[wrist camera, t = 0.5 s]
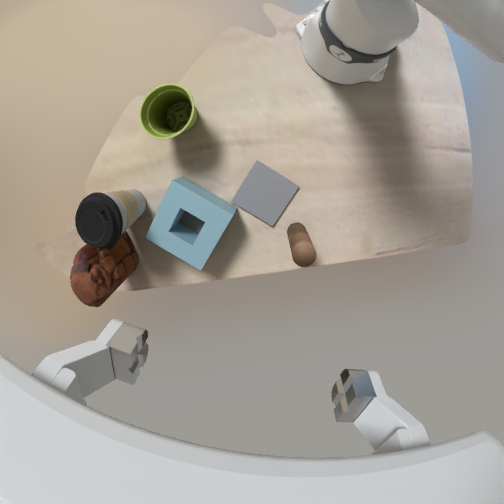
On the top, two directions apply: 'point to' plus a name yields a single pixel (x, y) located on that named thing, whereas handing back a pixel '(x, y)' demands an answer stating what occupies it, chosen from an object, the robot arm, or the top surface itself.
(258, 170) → the pad
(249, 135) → the top surface
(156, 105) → the plant pot
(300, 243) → the peg
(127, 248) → the wooden figurine
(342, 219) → the top surface
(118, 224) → the coffee cup
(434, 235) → the top surface
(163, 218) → the socket
